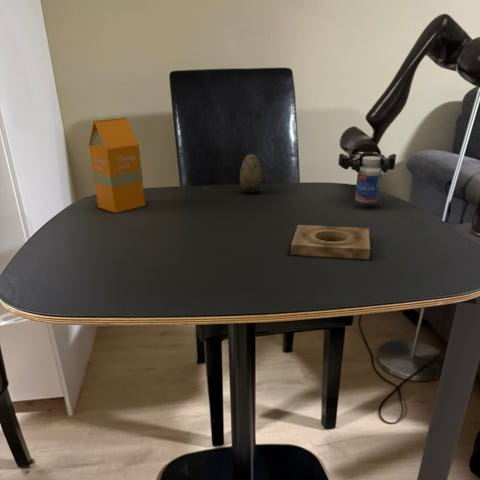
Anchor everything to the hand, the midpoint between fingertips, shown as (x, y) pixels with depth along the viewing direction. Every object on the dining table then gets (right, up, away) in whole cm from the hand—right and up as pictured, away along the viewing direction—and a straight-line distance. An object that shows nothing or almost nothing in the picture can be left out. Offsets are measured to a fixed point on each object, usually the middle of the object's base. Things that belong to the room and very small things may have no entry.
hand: (371, 167), depth 108 cm
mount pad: (-12, -20, -17) cm, 29 cm away
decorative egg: (-27, 0, +21) cm, 34 cm away
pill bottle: (0, -6, +6) cm, 9 cm away
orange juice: (-59, -6, +10) cm, 60 cm away
